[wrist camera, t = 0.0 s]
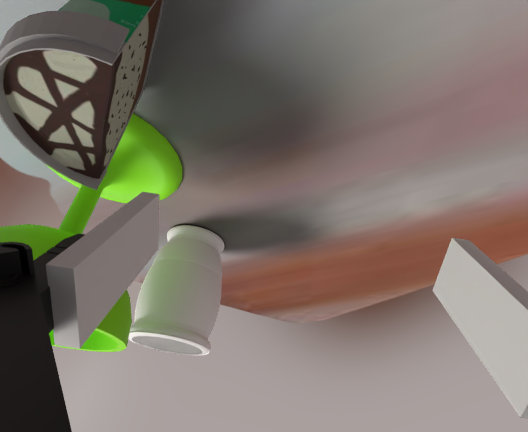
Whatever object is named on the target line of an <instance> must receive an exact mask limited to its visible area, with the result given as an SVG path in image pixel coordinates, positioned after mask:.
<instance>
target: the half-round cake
mask: <svg viewBox="0 0 528 432" xmlns="http://www.w3.org/2000/svg"><path fill="white" fill-rule="evenodd" d="M164 3H165V0H70V1H69V2H68V3H66V4H65V5H64V6H63V7H62V8H60V9H59V10H58V11H46V12H42V13H37V14H33V15H29V16H27V17H26V18H24V19H22V20H20V21H18V22H16V23H15V24H14V25H13V26H12V27H11V28H10V29H9V30H8V31H7V33H6V35H5V37H4V39H3V41H2V43H1V45H0V117H1V119H2V121H3V123H4V124H5V125H6V127H7V128H8V129H9V131H10V132H11V133H12V135H13V136H14V137H15V138H16V139H17V140H18V141H19V142H20V143H21V144H22V145H23V146H24V147H25V148H26V149H27V150H28V151H30V152H31V153H32V154H33V155H34V156H35V157H37V158H38V159H39V160H41V161H42V162H43V163H45V164H46V165H48V166H49V167H51V168H52V169H54V170H55V171H57V172H59V173H60V174H62V175H64V176H66V177H68V178H69V179H71V180H73V181H75V182H78V183H80V184H82V185H84V186H87V187H89V188H92V189H94V190H97V189H98V187H99V185H100V184H101V182H102V180H103V179H104V177H105V175H106V173H107V168H108V166H109V164H110V161H111V159H112V157H113V155H114V153H115V151H116V149H117V147H118V144H119V142H120V140H121V138H122V136H123V134H124V132H125V129H126V127H127V125H128V123H129V121H130V119H131V117H132V115H133V112H134V110H135V108H136V106H137V104H138V102H139V100H140V97H141V95H142V93H143V91H144V89H145V84H146V80H147V76H148V71H149V67H150V63H151V59H152V54H153V50H154V46H155V41H156V37H157V33H158V29H159V24H160V20H161V16H162V11H163V7H164Z"/></svg>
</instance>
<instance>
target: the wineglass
mask: <svg viewBox="0 0 528 432" xmlns="http://www.w3.org/2000/svg"><path fill="white" fill-rule="evenodd" d="M47 166H48V165H47ZM48 167H49V166H48ZM49 168H50V169H52V168H51V167H49ZM52 170H53V171H54V172H55V173H56V174H58V175H59V176H60V177H62V178H63V179H65V180H66V181H68V182H70V183H71V184H73V185H74V186H76V187H78V188H80V189H79V191H78V193H77V195H76V197H75V199H74V201H73V203H72V205H71V206H70V208H69V210H68V212H67V214H66V216H65V218H64V220H63V222H62V224H61V225H60V228H59V229H56V228H51V227H46V226H41V225H30V224H28V225H16V226H6V227H0V243H1V242H20V243H24V244H27V245H29V246H30V247H31V248H32V253H33V261H34V260H35V259H36V258H38V257H39V256H41V255H42V254H44V253H46V252H47V251H48V250H49V249H51V248H52V247H55V245H56V244H58V243H59V242H61V241H62V240H64V239H65V238H68V237H71V236H74V235H76V234H82V232H83V230H84V228H85V226H86V224H87V222H88V220H89V218H90V216H91V214H92V212H93V210H94V207H95V205H96V203H97V201H98V199H99V197H102V198H105V199H108V200H113V201H117V202H122V203H128V202H130V201H131V200H132V199H134V198H135V197H136V196H138V195H139V194H140V193H141V192H148V193H155V194H159V200H162V199H165V198H167V197H168V196H170V195H171V194H172V193H173V192H175V191H176V190H177V189H178V187H179V185H180V183H181V181H182V165H181V163H180V160H179V157H178V154H177V153H176V152H175V150H174V149H173V147H172V146H171V145H170V143H169V142H168V141H167V139H166V138H165V137H164V136H163V135H161V134H160V133H159V132H158V131H157V130H156V129H155V128H154V127H153V126H152V125H150V124H149V123H147V122H146V121H144V120H143V119H141V118H140V117H138V116H137V115H135V114H133V115H132V117H131V119H130V121H129V123H128V125H127V127H126V129H125V132H124V134H123V136H122V138H121V140H120V142H119V144H118V147H117V149H116V151H115V153H114V155H113V157H112V159H111V161H110V164H109V166H108V168H107V173H106V175H105V177H104V179H103V180H102V182H101V184H100V185H99V187H98V189H97V190H94V189H92V188H89V187H87V186H84V185H82V184H80V183H78V182H75V181H73V180H71V179H69V178H68V177H66V176H64V175H62V174H60V173H59V172H57V171H55V170H54V169H52ZM131 323H132V319H131V306H130V297H129V294H128V292H127V289H126V291H125V292H124V293H123V294H122V296H121V297H120V298H119V300H118V301H117V302H116V303H115V305H114V306H113V307H112V309H111V310H110V311H109V312H108V314H107V315H106V316H105V318H104V319H103V320H102V321H101V323H100V324H99V325H98V326H97V328H96V329H95V330H94V332H93V333H92V334H91V335H90V337H89V338H88V339H87V341H86V342H85V343H84V344H83V346H82V347H81V348H80V349H77V348H71V347H65V346H58V345H55V343H54V334H53V330H52V331H51V332H50V333H49V336H50V340H51V345H52V346H57V347H63V348H70V349H77V350H85V351H99V352H116V351H122V350H124V349H125V348H126V347H127V343H128V338H129V333H130V328H131Z"/></svg>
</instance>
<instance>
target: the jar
mask: <svg viewBox="0 0 528 432" xmlns="http://www.w3.org/2000/svg"><path fill="white" fill-rule="evenodd" d="M167 240H168V242H167V243H166V244H165V245H164V246H163V248H162V249H161V250H160V251H159V253H158V254H157V256H156V258H155V260H154V262H153V264H152V266H151V268H150V269H149V271H148V273H147V275H146V277H145V279H144V281H143V284H142V286H141V289H140V292H139V296H138V300H137V304H136V309H135V322H134V325H132V326H131V328H130V333H129V338H128V340H130V341H132V342H134V343H136V344H139V345H141V346H144V347H147V348H151V349H154V350H158V351H163V352H168V353H173V354H180V355H205V354H208V353H209V351H210V348H211V346H210V342H209V341H208V337H209V335H210V333H211V331H212V329H213V326H214V324H215V321H216V318H217V314H218V311H219V306H220V300H221V281H222V263H221V258H220V254H221V253H222V252H223V250H224V242H223V241H222V239H221V238H220V237H219V236H218V235H216V234H215V233H213V232H211V231H209V230H207V229H204V228H201V227H197V226H190V225H181V226H176V227H173V228H171V229H170V230H169V231H168V233H167Z"/></svg>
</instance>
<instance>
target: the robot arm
mask: <svg viewBox="0 0 528 432" xmlns="http://www.w3.org/2000/svg"><path fill="white" fill-rule="evenodd" d="M158 234H159V194H155V193H148V192H141V193H140V194H139V195H138V196H136V197H135V198H134V199H132V200H131V201H130V202H128V203H127V204H126V205H124V206H123V207H122V208H120V209H119V210H118V211H116V212H115V213H114V214H112V215H111V216H110V217H108V218H107V219H106V220H104V221H103V222H102V223H100V224H99V225H98V226H96V227H95V228H94V229H92V230H91V231H90V232H88V233H87V234H86V235H84V234H76V235H74V236H71V237H68V238H65V239H64V240H62V241H61V242H59V243H58V244H56V245H55V247H52V248H51V249H49V250H48V251H47V252H46V253H44V254H42V255H41V256H39V257H38V258H36V259H35V260H34V261H33V253H32V248H31V247H30V246H29V245H27V244H24V243H20V242H1V243H0V432H72V431H71V427H70V422H69V418H68V414H67V410H66V405H65V401H64V397H63V393H62V388H61V384H60V379H59V375H58V371H57V367H56V362H55V358H54V353H53V349H52V345H51V340H50V336H49V333H50V332H51V331H52V330H53V334H54V343H55V345H58V346H65V347H71V348H77V349H80V348H81V347H82V346H83V344H84V343H85V342H86V341H87V339H88V338H89V337H90V335H91V334H92V333H93V332H94V330H95V329H96V328H97V326H98V325H99V324H100V323H101V321H102V320H103V319H104V318H105V316H106V315H107V314H108V312H109V311H110V310H111V309H112V307H113V306H114V305H115V303H116V302H117V301H118V300H119V298H120V297H121V296H122V294H123V293H124V292H125V291H126V289H127V288H128V287H129V286H130V284H131V283H132V282H133V280H134V279H135V278H136V277H137V275H138V274H139V273H140V271H141V270H142V269H143V268H144V266H145V265H146V264H147V263H148V261H149V260H150V259H151V257H152V256H153V255H154V254H155V252H156V251H157V250H158ZM433 292H434V293H435V295H436V296H437V297H438V299H439V300H440V302H441V303H442V305H443V306H444V308H445V309H446V310H447V312H448V314H449V315H450V316H451V318H452V319H453V321H454V322H455V323H456V325H457V326H458V328H459V329H460V331H461V332H462V334H463V335H464V337H465V338H466V339H467V341H468V343H469V344H470V345H471V347H472V348H473V350H474V351H475V353H476V354H477V356H478V357H479V358H480V360H481V361H482V363H483V364H484V366H485V367H486V369H487V370H488V371H489V373H490V374H491V376H492V377H493V379H494V380H495V381H496V383H497V384H498V386H499V387H500V389H501V390H502V392H503V393H504V395H505V396H506V398H507V399H508V400H509V402H510V403H511V405H512V406H513V407H514V409H515V411H516V412H517V414H518V415H519V416H520V418H527V419H528V292H527V291H526V290H525V289H524V288H523V287H522V286H521V285H519V284H518V283H517V282H516V281H515V280H514V279H513V278H511V277H510V276H509V275H508V274H507V273H506V272H504V271H503V270H502V269H501V268H500V267H499V266H498V265H497V264H495V263H494V262H493V261H492V260H491V259H490V258H489V257H488V256H486V255H485V254H484V253H483V252H482V251H481V250H480V249H478V248H477V247H476V246H475V245H474V244H473V243H472V242H470V241H469V240H463V239H456V238H452V239H451V242H450V245H449V247H448V250H447V253H446V256H445V258H444V261H443V264H442V266H441V269H440V272H439V274H438V277H437V280H436V283H435V285H434V288H433Z"/></svg>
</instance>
